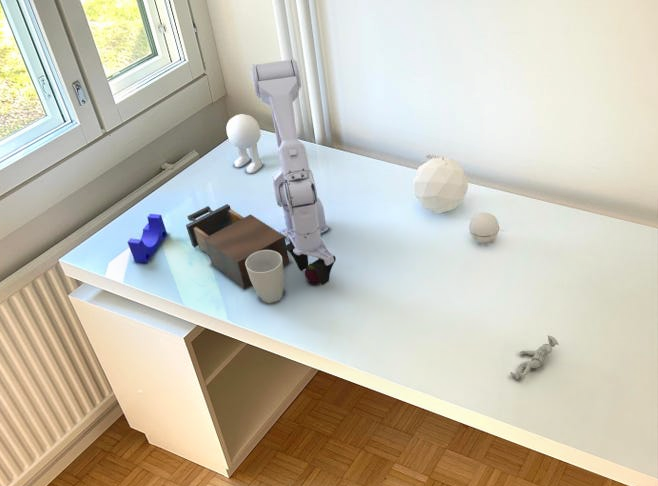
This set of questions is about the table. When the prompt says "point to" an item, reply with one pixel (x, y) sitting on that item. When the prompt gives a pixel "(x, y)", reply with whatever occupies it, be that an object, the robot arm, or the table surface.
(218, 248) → the cabinet
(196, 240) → the drawer
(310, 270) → the mangosteen
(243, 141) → the toy character
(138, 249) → the cable clip
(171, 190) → the table surface
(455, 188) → the geodesic sphere
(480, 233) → the grey rounded domed piece
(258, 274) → the cup
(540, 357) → the soldier figure
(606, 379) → the table surface
